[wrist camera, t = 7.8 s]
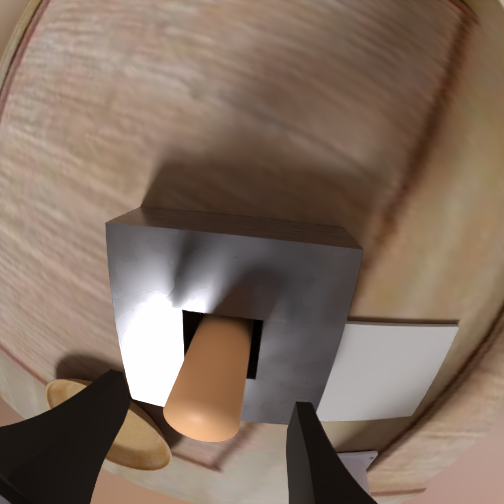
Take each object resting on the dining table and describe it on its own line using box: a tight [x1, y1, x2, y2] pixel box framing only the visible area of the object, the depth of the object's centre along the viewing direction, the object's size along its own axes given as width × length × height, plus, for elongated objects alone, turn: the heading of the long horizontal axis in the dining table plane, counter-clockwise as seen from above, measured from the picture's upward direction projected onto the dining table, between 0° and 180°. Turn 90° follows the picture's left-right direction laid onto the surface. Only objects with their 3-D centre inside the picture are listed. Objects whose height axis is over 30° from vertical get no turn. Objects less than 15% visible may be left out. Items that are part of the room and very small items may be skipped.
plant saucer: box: [45, 378, 172, 472], centre depth 23 cm, size 15×15×3 cm
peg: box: [163, 313, 254, 442], centre depth 14 cm, size 3×3×9 cm
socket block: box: [106, 207, 364, 425], centre depth 16 cm, size 12×12×4 cm
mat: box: [316, 321, 459, 421], centre depth 19 cm, size 10×10×1 cm
